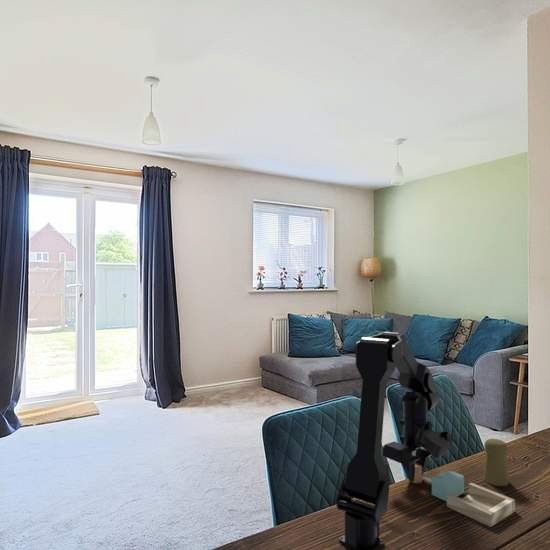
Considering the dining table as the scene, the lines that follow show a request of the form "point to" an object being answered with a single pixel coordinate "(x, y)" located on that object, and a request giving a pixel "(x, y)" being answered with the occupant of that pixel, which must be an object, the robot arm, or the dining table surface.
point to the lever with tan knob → (442, 482)
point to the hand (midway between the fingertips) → (415, 479)
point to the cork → (495, 463)
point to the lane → (482, 505)
